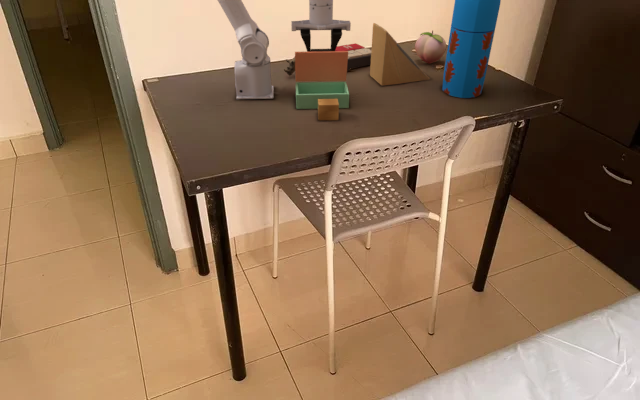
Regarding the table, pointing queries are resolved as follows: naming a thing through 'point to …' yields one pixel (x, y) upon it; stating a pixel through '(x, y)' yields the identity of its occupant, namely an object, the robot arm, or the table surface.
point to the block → (328, 109)
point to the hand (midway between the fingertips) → (320, 58)
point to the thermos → (469, 47)
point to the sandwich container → (391, 61)
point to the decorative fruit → (430, 47)
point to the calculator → (356, 55)
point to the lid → (321, 65)
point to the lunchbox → (320, 94)
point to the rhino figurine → (290, 66)
